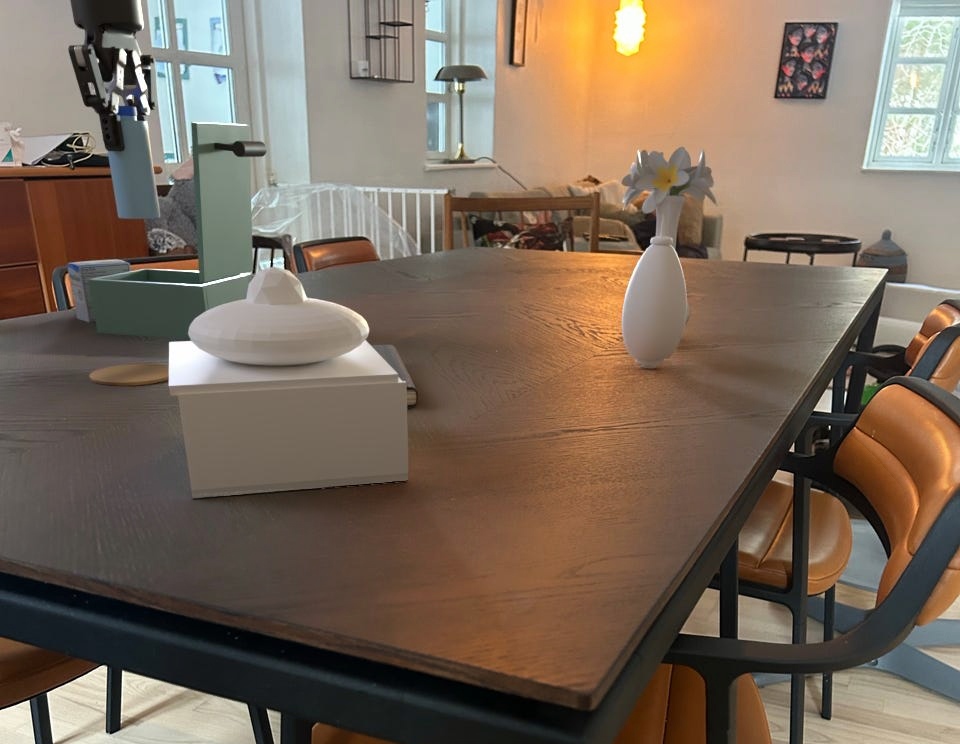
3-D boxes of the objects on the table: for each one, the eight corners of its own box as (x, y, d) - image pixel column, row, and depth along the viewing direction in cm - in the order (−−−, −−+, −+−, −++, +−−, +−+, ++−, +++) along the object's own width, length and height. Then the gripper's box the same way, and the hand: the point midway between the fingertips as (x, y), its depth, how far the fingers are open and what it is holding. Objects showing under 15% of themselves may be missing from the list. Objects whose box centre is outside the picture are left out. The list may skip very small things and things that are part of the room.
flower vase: (675, 325, 145) (695, 147, 133) (714, 347, 129) (741, 147, 117) (595, 325, 144) (608, 145, 132) (625, 348, 128) (642, 146, 116)
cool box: (98, 338, 129) (87, 279, 125) (152, 322, 140) (144, 268, 137) (209, 346, 125) (202, 285, 121) (256, 329, 136) (251, 274, 133)
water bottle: (111, 218, 112) (92, 105, 106) (128, 215, 116) (111, 106, 110) (151, 219, 111) (134, 105, 106) (166, 216, 116) (151, 107, 110)
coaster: (74, 384, 105) (73, 380, 104) (112, 365, 113) (112, 362, 113) (158, 387, 104) (157, 383, 104) (190, 368, 113) (190, 365, 112)
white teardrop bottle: (635, 358, 122) (649, 210, 113) (689, 366, 118) (708, 213, 109) (607, 367, 116) (619, 212, 108) (663, 376, 112) (680, 216, 104)
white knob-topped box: (408, 481, 76) (403, 278, 69) (185, 499, 72) (153, 285, 64) (370, 425, 91) (362, 254, 83) (183, 438, 86) (156, 257, 79)
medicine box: (126, 317, 144) (116, 258, 139) (139, 321, 141) (130, 261, 137) (77, 323, 139) (65, 262, 135) (89, 327, 136) (78, 265, 132)
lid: (190, 121, 112) (229, 126, 111) (244, 124, 123) (279, 128, 122) (199, 281, 121) (234, 287, 120) (248, 270, 133) (280, 275, 132)
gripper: (110, -11, 109) (135, 150, 117) (30, -31, 97) (64, 150, 105) (166, -13, 107) (187, 151, 115) (92, -33, 95) (121, 151, 103)
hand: (128, 150), depth 110 cm, fingers closed on water bottle, 5 cm apart
